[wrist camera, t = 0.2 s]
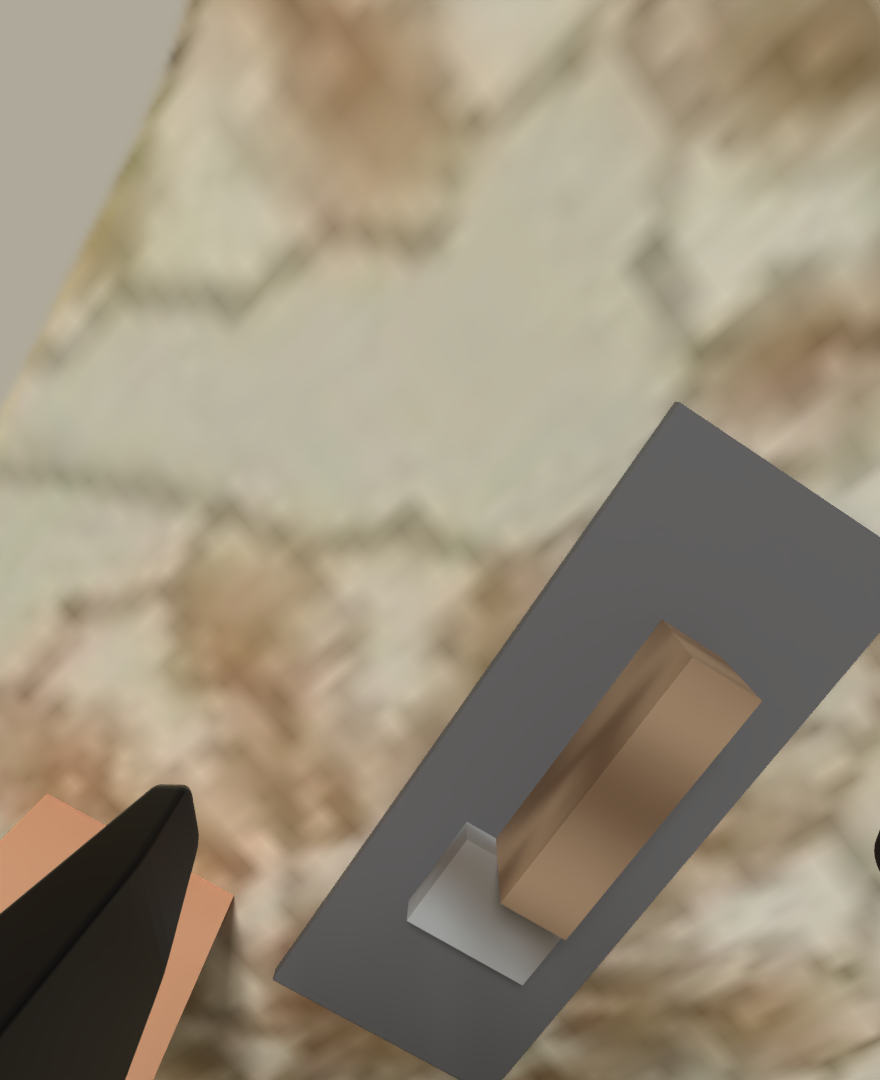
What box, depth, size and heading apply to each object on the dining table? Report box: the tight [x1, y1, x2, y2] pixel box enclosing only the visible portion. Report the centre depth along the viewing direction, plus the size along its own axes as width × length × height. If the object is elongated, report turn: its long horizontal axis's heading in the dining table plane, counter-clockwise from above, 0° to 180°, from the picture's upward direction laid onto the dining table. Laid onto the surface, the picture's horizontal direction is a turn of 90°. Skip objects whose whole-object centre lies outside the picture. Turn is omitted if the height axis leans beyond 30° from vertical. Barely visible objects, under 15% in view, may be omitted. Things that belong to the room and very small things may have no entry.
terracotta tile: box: [0, 794, 234, 1080], centre depth 22 cm, size 2×8×9 cm, turn 58°
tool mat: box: [273, 402, 880, 1080], centre depth 25 cm, size 26×10×1 cm, turn 148°
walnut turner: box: [407, 620, 762, 985], centre depth 23 cm, size 14×5×3 cm, turn 148°
